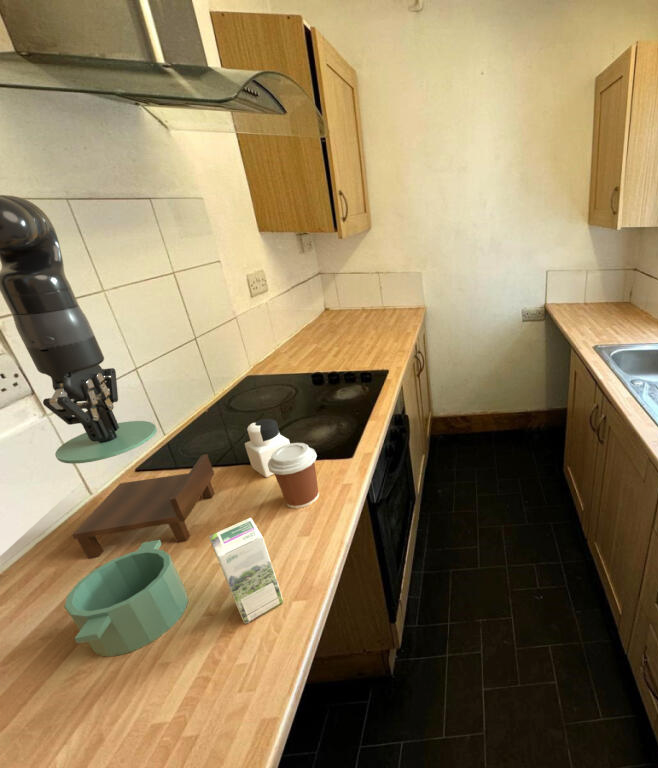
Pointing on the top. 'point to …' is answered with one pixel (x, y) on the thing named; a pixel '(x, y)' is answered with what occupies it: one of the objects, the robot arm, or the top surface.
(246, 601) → the milk carton
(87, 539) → the shelf
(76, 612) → the pot
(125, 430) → the lid
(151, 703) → the top surface
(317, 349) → the top surface
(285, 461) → the coffee cup
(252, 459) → the medicine bottle
